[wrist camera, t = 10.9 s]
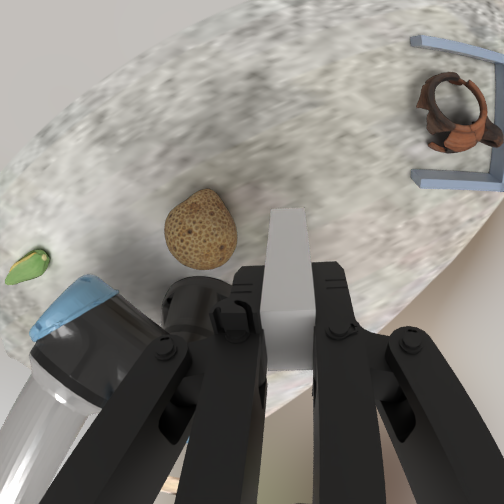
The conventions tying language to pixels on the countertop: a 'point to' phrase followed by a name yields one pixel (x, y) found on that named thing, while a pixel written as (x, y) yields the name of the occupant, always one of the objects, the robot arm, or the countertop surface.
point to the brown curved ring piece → (459, 134)
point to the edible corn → (28, 267)
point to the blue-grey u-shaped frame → (500, 174)
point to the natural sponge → (201, 231)
